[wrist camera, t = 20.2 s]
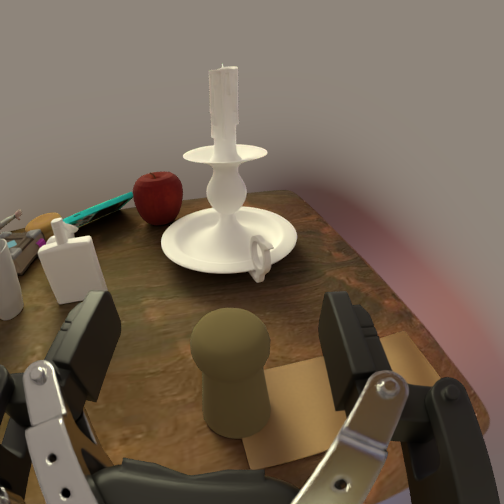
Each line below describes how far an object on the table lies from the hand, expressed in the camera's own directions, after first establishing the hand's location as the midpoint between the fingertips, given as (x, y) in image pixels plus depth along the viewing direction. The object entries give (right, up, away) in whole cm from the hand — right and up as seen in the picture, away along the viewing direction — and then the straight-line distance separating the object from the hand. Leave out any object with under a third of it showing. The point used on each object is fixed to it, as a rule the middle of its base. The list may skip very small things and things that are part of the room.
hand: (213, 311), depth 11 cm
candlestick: (-1, +1, +35) cm, 35 cm away
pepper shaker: (0, -12, +13) cm, 18 cm away
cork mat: (+10, -11, +14) cm, 21 cm away
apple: (-16, +8, +45) cm, 49 cm away
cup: (-35, -7, +22) cm, 42 cm away
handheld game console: (-31, +11, +43) cm, 54 cm away
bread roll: (-44, +5, +37) cm, 58 cm away
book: (-46, 0, +33) cm, 56 cm away
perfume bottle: (-22, -4, +26) cm, 35 cm away
